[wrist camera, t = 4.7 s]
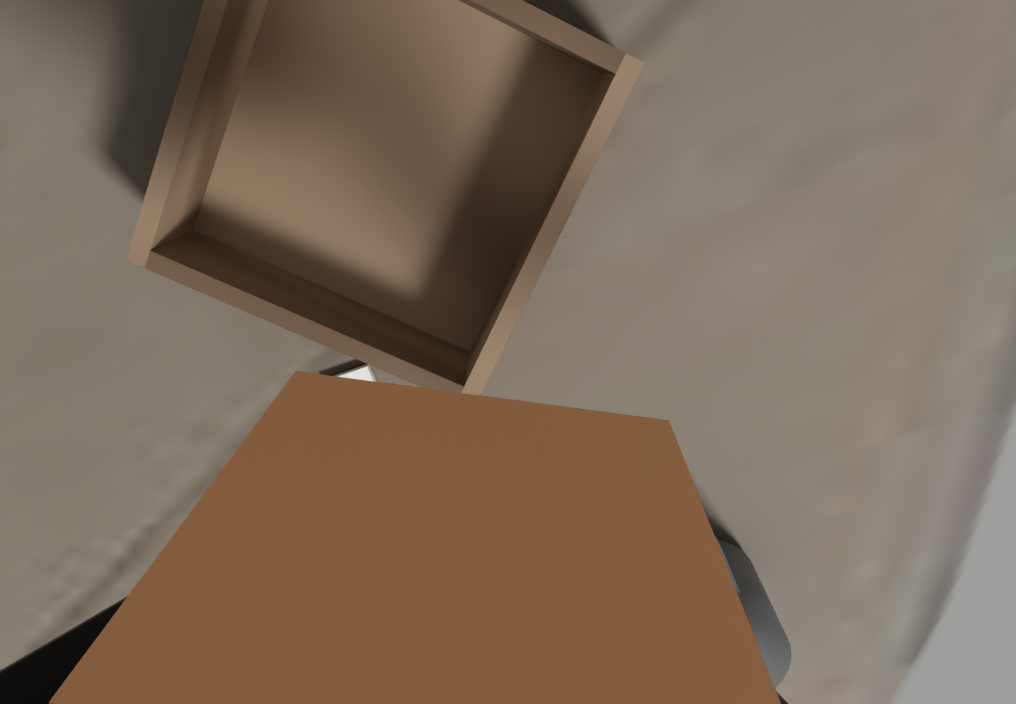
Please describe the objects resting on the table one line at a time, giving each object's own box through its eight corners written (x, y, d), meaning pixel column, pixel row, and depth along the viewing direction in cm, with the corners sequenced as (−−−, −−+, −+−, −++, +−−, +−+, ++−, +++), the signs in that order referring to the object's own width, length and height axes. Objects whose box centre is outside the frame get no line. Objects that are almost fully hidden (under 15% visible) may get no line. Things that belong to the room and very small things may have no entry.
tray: (479, 366, 19) (473, 409, 17) (178, 234, 18) (125, 260, 16) (626, 63, 17) (645, 63, 14) (288, -108, 16) (246, -142, 13)
